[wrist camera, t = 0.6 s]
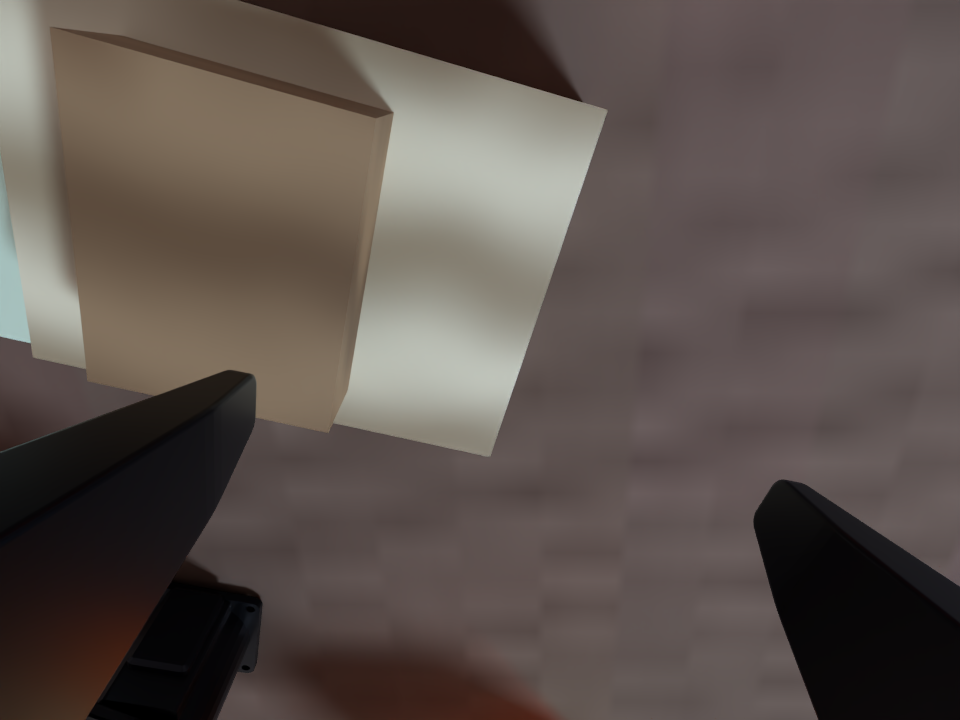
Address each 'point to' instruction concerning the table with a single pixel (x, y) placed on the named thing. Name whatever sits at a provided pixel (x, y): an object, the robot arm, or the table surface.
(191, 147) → the walnut block
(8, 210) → the sage mat
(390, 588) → the table surface
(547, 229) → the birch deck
